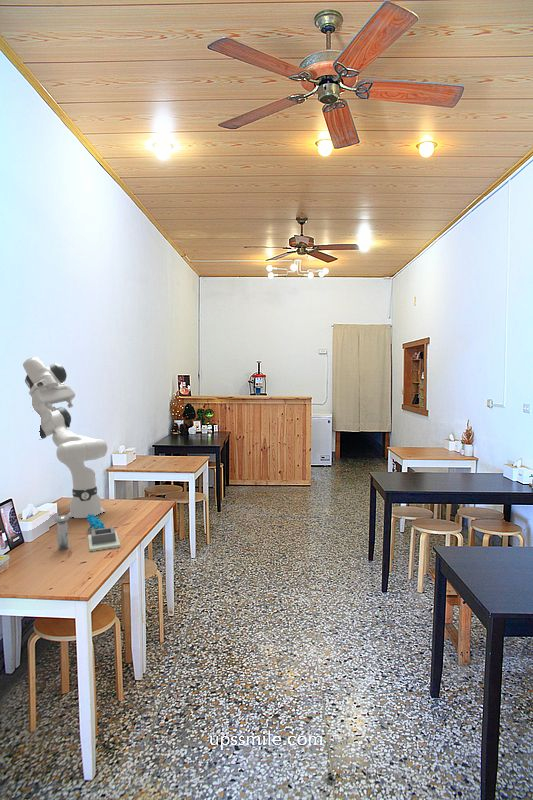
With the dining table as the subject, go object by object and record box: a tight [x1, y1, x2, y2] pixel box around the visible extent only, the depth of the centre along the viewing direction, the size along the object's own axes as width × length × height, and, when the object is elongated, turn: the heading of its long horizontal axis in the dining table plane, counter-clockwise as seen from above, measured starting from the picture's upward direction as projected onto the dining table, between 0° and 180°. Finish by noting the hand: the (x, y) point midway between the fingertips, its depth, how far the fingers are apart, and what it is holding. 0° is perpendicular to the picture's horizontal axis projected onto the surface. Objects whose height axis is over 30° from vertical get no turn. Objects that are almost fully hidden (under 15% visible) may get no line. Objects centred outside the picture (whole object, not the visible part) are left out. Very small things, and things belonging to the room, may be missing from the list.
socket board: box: [87, 526, 121, 552], centre depth 215 cm, size 20×12×5 cm, turn 21°
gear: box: [85, 514, 106, 531], centre depth 233 cm, size 11×6×10 cm
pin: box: [54, 514, 70, 551], centre depth 209 cm, size 6×6×13 cm
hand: (63, 409), depth 232 cm, fingers open, 8 cm apart
